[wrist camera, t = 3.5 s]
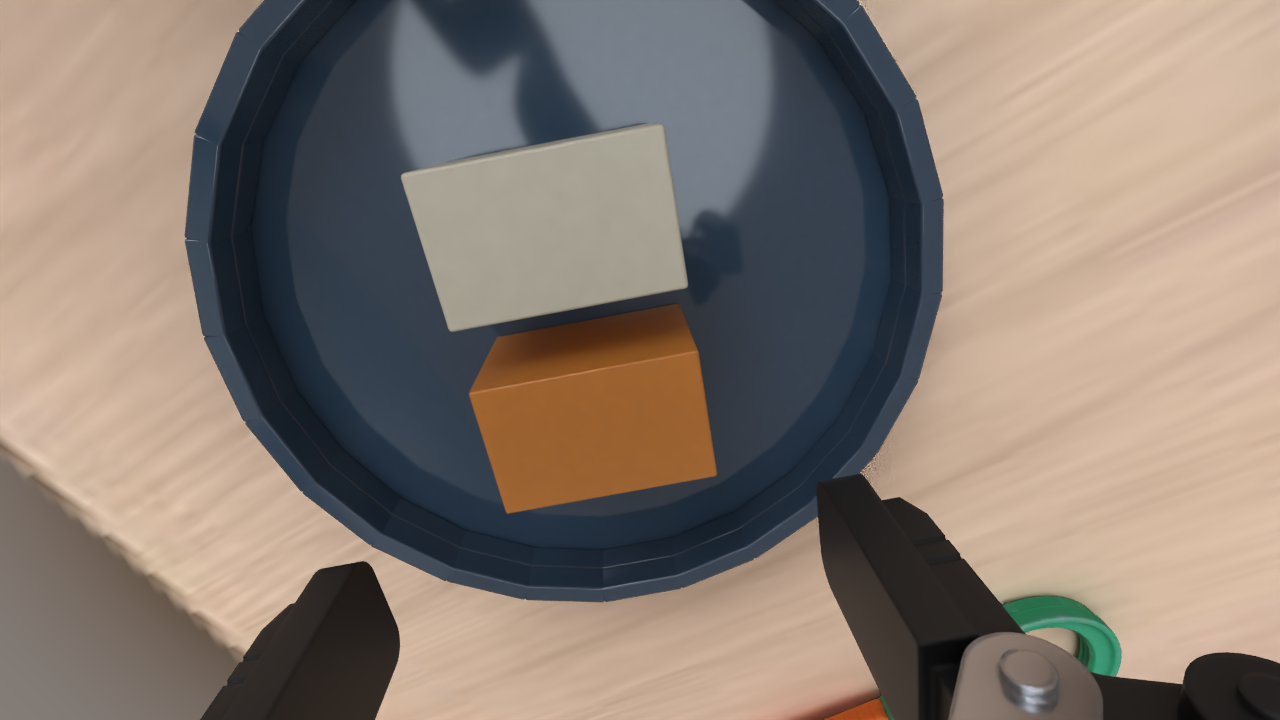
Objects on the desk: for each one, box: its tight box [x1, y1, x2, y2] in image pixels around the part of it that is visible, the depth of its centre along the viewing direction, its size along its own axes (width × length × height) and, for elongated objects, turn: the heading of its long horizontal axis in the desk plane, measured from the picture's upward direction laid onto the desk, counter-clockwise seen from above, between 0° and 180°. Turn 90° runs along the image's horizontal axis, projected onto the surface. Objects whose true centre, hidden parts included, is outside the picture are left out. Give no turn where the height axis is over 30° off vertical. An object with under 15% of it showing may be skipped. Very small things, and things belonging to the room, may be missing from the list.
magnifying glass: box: [824, 596, 1121, 720], centre depth 24 cm, size 15×6×2 cm, turn 115°
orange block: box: [469, 304, 717, 514], centre depth 17 cm, size 4×6×4 cm, turn 100°
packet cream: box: [401, 123, 688, 332], centre depth 15 cm, size 4×6×4 cm, turn 100°
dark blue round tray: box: [185, 0, 944, 602], centre depth 17 cm, size 19×19×2 cm
